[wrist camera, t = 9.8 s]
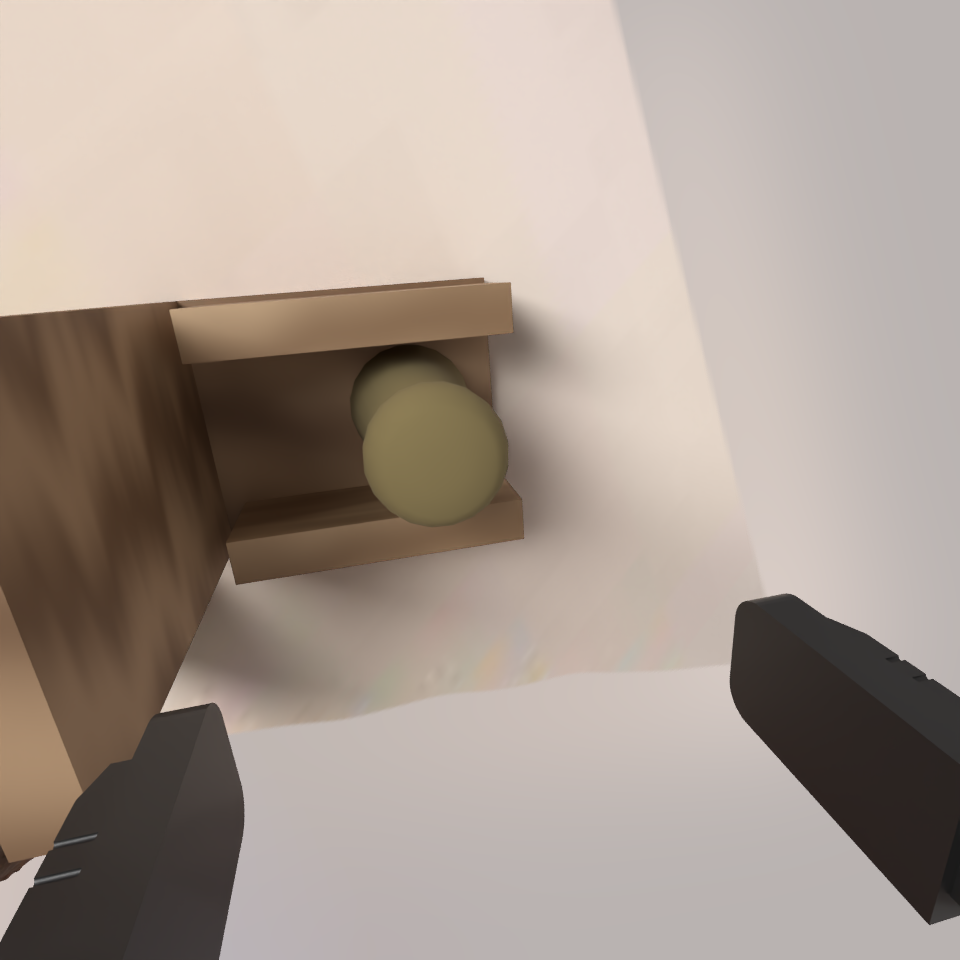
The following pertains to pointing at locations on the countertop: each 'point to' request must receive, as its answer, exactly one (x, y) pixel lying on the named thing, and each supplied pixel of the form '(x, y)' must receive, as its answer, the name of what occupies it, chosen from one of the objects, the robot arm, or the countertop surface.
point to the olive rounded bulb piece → (427, 437)
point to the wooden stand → (186, 497)
